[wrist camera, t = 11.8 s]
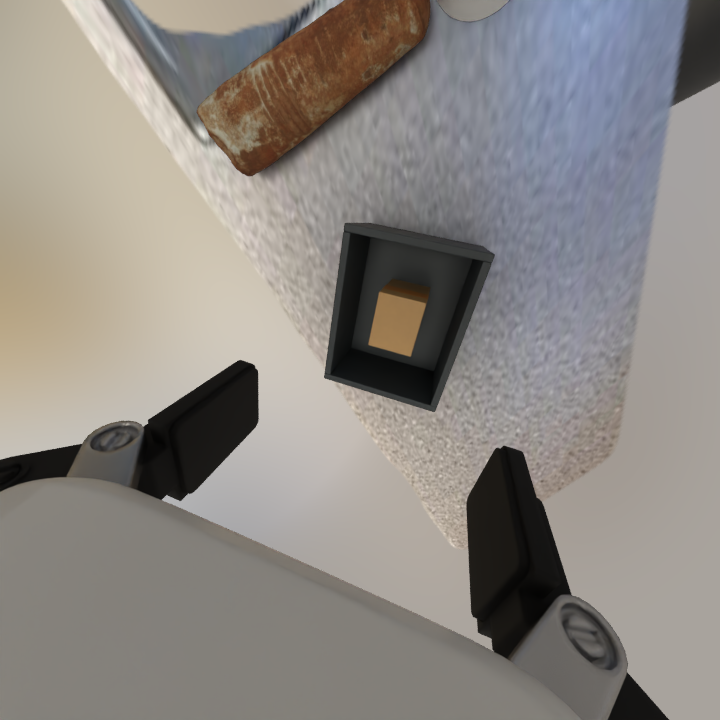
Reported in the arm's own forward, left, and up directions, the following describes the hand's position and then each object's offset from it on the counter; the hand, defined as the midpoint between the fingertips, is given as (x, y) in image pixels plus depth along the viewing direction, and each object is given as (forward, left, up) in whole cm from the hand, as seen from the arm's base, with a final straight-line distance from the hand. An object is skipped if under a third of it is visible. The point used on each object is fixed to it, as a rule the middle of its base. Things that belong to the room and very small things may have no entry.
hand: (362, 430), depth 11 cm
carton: (+1, -1, -21) cm, 21 cm away
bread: (-16, -13, -22) cm, 30 cm away
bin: (+1, -1, -22) cm, 22 cm away
